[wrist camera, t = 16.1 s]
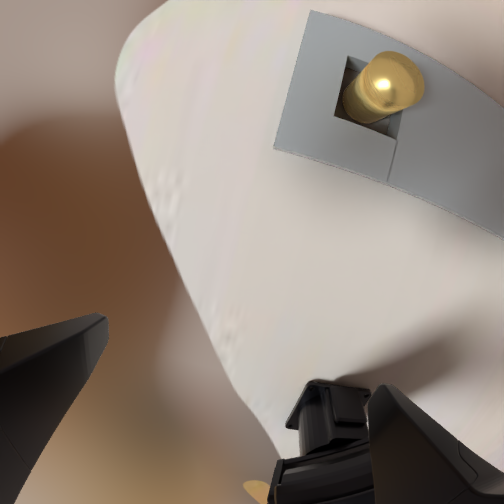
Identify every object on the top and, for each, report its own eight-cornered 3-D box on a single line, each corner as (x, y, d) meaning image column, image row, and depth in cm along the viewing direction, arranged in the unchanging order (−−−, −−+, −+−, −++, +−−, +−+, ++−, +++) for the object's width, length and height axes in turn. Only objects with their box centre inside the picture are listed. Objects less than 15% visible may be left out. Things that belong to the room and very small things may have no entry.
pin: (379, 129, 16) (420, 115, 11) (338, 114, 16) (365, 91, 11) (386, 91, 16) (426, 66, 10) (346, 76, 16) (374, 42, 10)
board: (546, 266, 18) (557, 272, 16) (273, 148, 17) (273, 146, 15) (564, 183, 15) (576, 185, 13) (307, 22, 14) (310, 9, 12)
